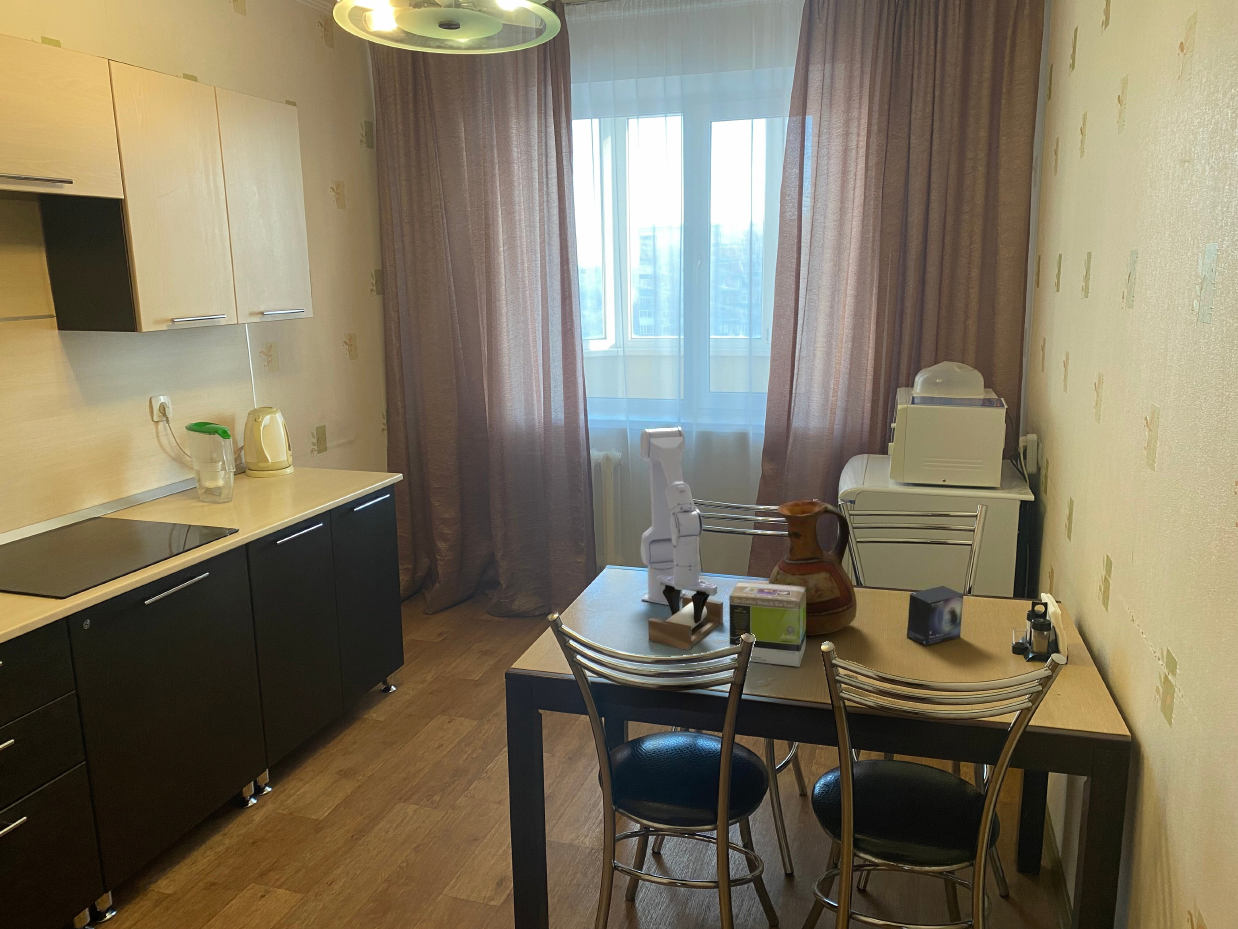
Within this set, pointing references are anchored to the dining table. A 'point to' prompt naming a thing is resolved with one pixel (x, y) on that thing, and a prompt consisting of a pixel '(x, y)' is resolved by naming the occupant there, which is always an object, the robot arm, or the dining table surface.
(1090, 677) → the dining table surface
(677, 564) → the robot arm
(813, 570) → the ceramic pitcher
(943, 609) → the small box
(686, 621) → the cylinder
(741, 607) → the tea box
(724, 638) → the dining table surface
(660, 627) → the holder
